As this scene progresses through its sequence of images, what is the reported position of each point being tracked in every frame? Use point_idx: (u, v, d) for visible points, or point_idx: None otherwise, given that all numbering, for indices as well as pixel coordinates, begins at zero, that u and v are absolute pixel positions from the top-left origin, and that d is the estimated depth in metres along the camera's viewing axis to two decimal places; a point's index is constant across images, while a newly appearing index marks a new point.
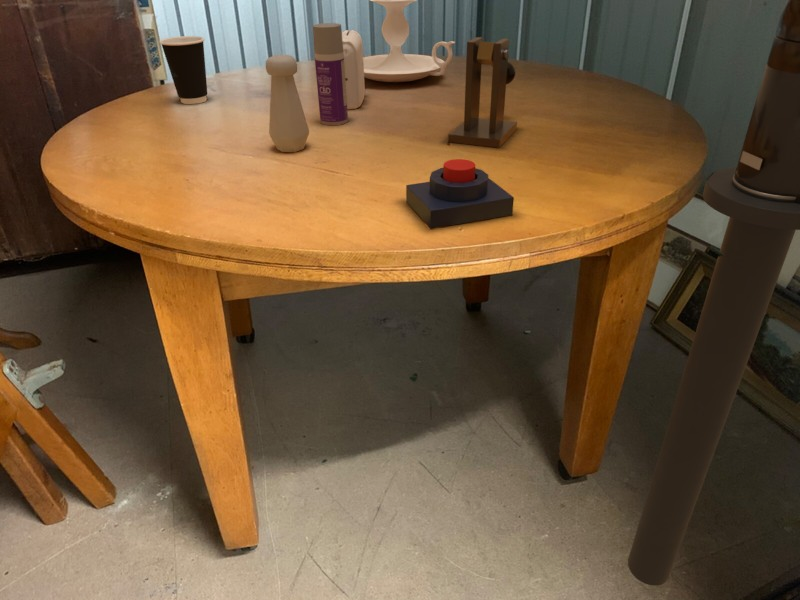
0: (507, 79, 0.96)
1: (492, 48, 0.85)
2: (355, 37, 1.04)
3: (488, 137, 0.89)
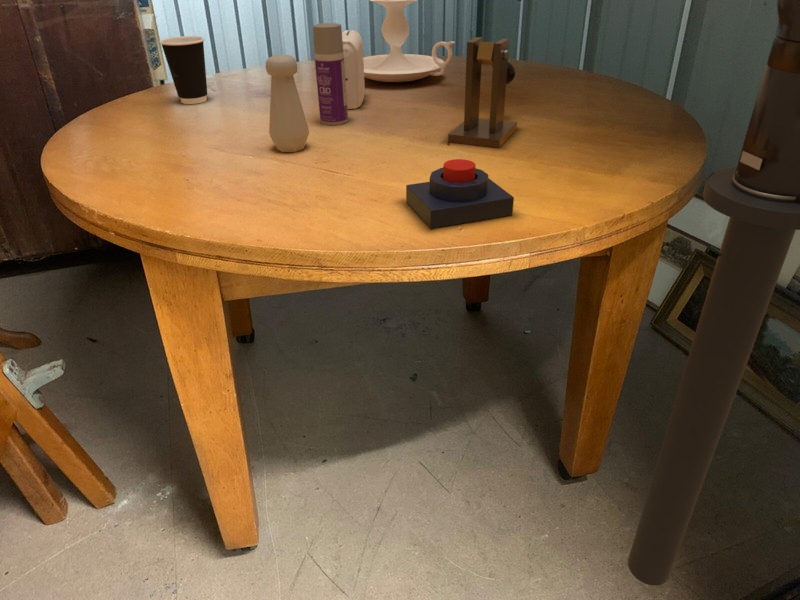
0: (507, 79, 0.96)
1: (492, 48, 0.85)
2: (355, 37, 1.04)
3: (488, 137, 0.89)
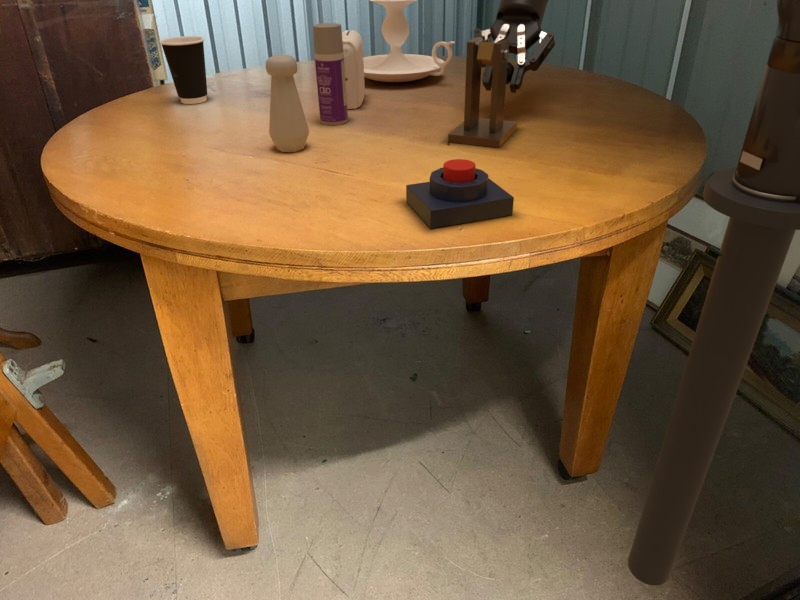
0: (507, 79, 0.96)
1: (492, 48, 0.85)
2: (355, 37, 1.04)
3: (488, 137, 0.89)
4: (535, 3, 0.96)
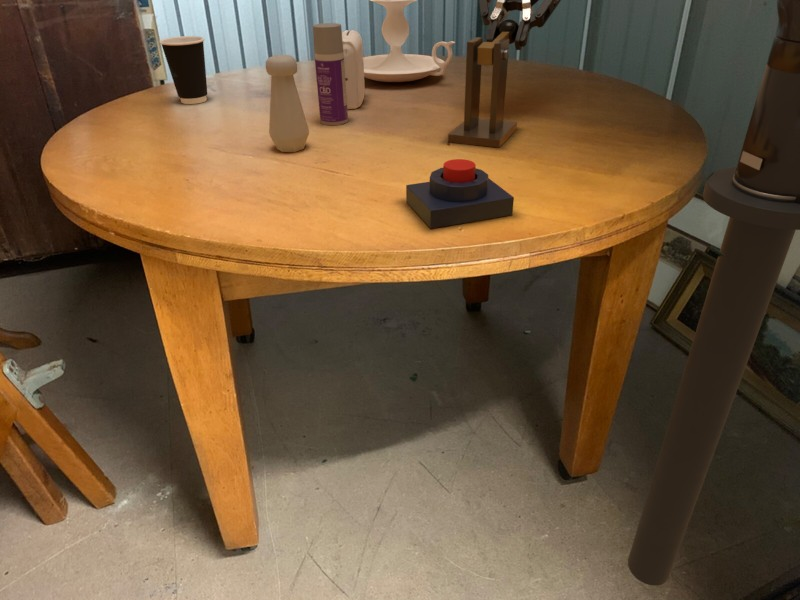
0: (512, 41, 0.94)
1: (491, 54, 0.86)
2: (355, 37, 1.04)
3: (488, 137, 0.89)
4: None
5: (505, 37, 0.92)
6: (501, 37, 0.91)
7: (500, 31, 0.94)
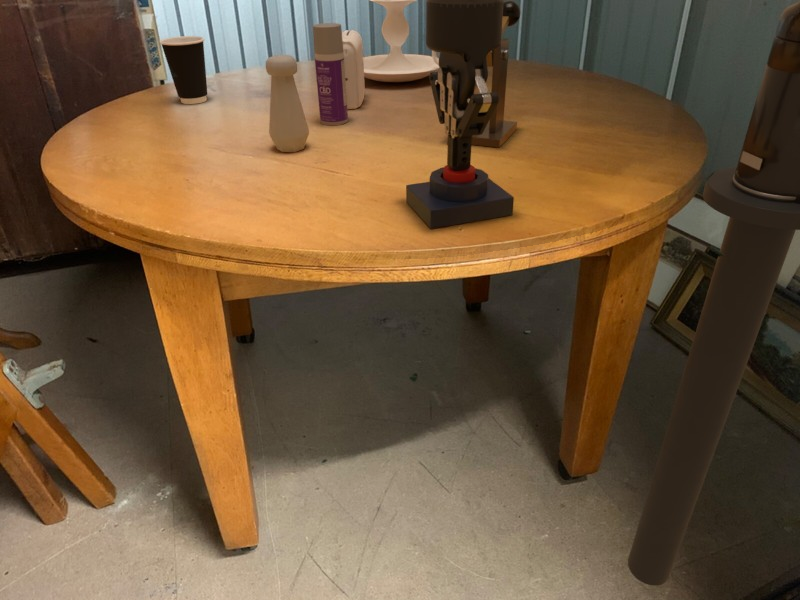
0: (513, 24, 0.93)
1: (491, 56, 0.86)
2: (355, 37, 1.04)
3: (488, 137, 0.89)
4: None
5: (505, 25, 0.91)
6: None
7: None
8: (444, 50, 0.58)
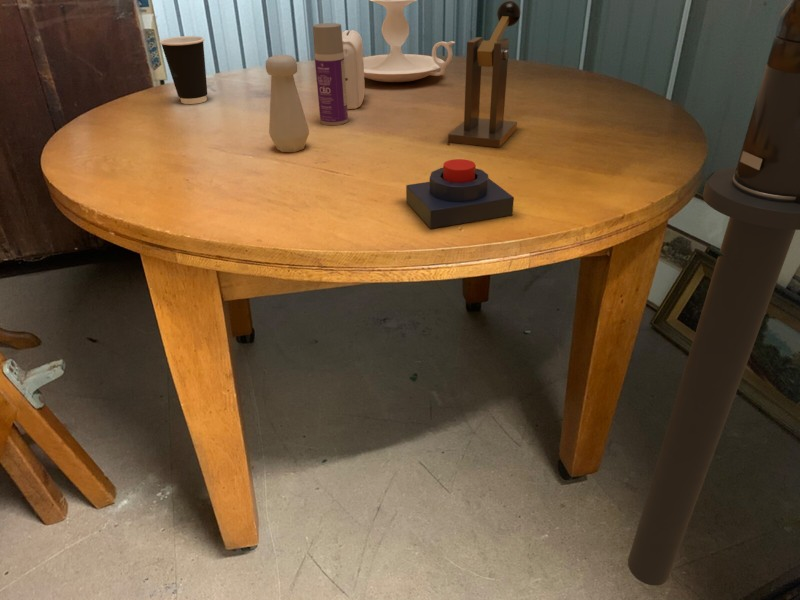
0: (513, 24, 0.93)
1: (491, 56, 0.86)
2: (355, 37, 1.04)
3: (488, 137, 0.89)
4: None
5: (505, 25, 0.91)
6: (501, 27, 0.90)
7: (500, 15, 0.92)
8: None
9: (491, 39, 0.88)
